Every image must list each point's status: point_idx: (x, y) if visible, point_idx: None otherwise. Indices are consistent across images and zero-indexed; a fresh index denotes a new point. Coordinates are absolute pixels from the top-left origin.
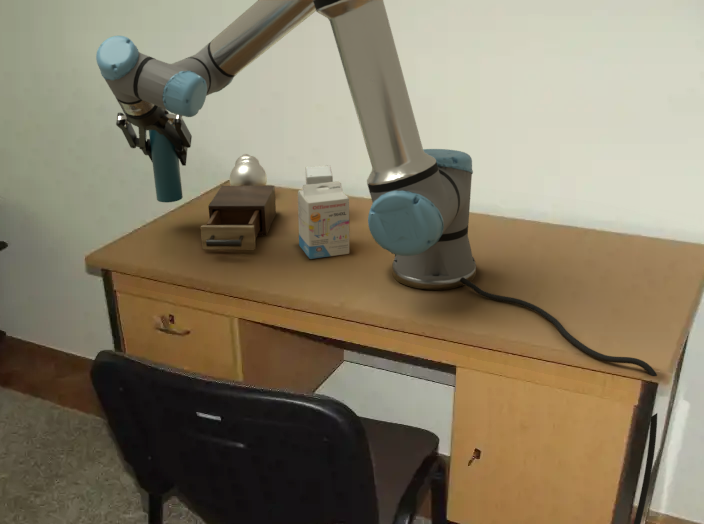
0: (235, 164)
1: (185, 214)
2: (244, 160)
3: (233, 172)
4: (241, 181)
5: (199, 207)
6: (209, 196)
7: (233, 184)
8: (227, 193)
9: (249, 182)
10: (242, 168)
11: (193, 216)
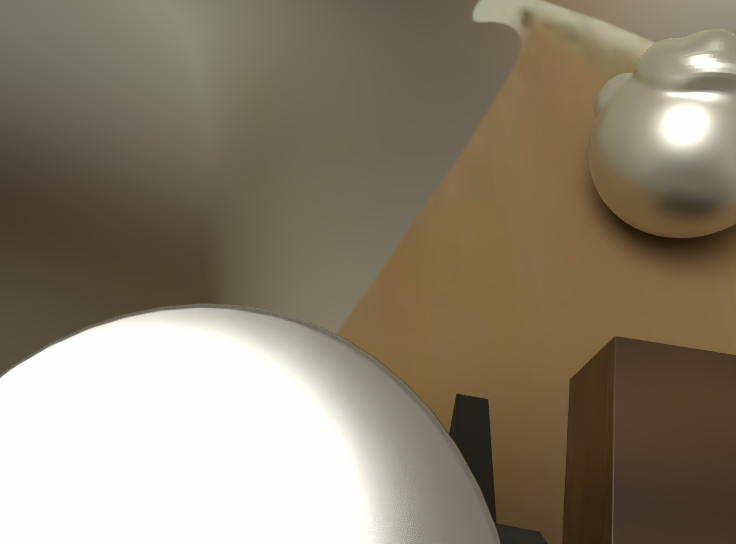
0: (647, 83)
1: (389, 356)
2: (717, 87)
3: (640, 149)
4: (676, 210)
5: (444, 278)
6: (472, 159)
7: (621, 198)
8: (684, 492)
9: (716, 218)
10: (704, 149)
11: (428, 389)
